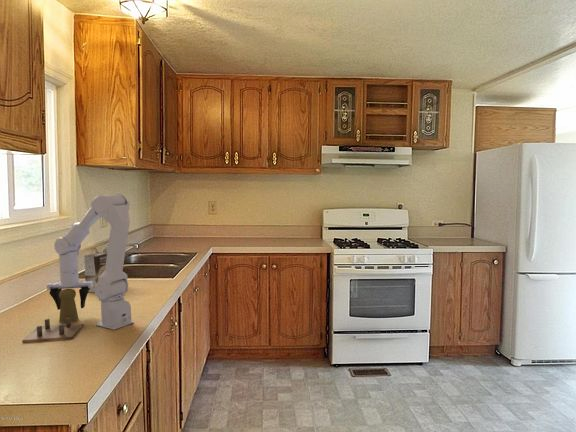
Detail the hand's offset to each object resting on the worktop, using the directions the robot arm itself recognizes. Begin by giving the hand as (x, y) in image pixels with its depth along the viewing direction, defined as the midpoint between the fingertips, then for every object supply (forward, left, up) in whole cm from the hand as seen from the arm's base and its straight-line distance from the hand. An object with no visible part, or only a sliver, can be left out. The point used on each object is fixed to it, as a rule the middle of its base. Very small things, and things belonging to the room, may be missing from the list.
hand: (71, 308), depth 148 cm
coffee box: (+24, -29, -4) cm, 38 cm away
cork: (-2, +2, -4) cm, 5 cm away
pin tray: (-10, +12, -3) cm, 16 cm away
